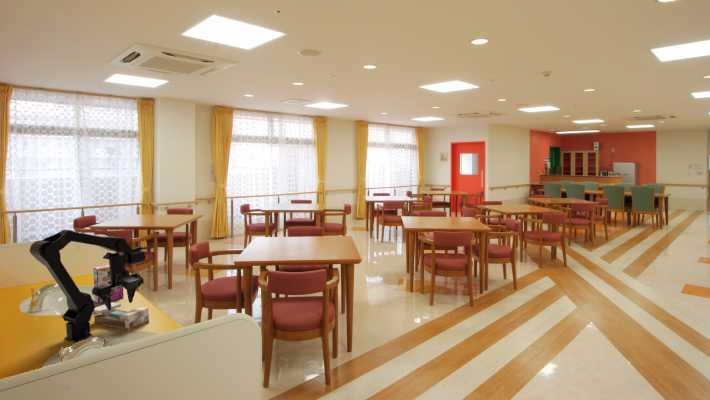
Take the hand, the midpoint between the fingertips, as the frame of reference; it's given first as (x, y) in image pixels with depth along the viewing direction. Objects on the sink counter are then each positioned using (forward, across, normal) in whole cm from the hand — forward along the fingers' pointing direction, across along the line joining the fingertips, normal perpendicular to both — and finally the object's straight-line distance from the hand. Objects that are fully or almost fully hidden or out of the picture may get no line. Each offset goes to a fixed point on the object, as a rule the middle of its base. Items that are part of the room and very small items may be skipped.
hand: (120, 306), depth 168 cm
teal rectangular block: (+6, 0, 0) cm, 6 cm away
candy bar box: (+7, +18, +32) cm, 37 cm away
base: (+7, 0, 0) cm, 7 cm away
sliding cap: (+5, 0, +8) cm, 10 cm away
